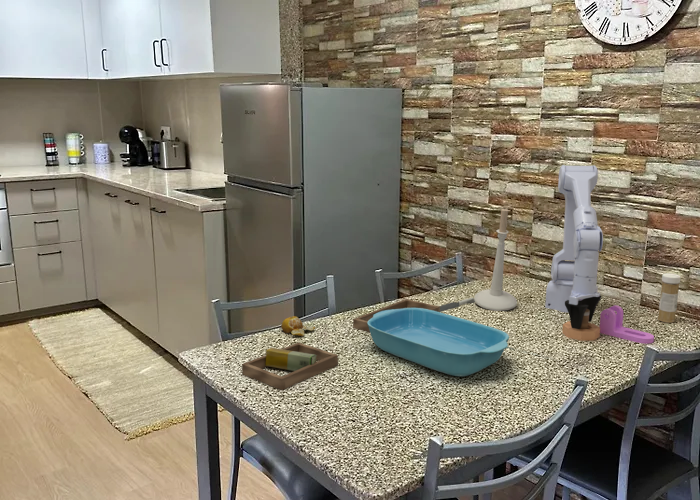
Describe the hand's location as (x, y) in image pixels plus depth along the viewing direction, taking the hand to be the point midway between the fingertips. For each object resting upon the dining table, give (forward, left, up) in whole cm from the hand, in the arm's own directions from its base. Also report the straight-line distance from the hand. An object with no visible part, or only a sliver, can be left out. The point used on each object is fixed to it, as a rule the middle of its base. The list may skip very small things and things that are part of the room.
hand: (581, 324), depth 168 cm
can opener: (-39, 0, -7) cm, 39 cm away
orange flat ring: (0, 0, -3) cm, 3 cm away
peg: (0, 0, -3) cm, 3 cm away
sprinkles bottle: (+14, +27, -3) cm, 31 cm away
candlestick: (-30, +10, -2) cm, 32 cm away
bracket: (+10, +7, -3) cm, 13 cm away
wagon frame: (-44, -22, -3) cm, 49 cm away
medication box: (-42, -66, -3) cm, 78 cm away
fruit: (-56, -46, -4) cm, 73 cm away
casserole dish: (-22, -36, -3) cm, 42 cm away
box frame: (-42, -66, -3) cm, 78 cm away
